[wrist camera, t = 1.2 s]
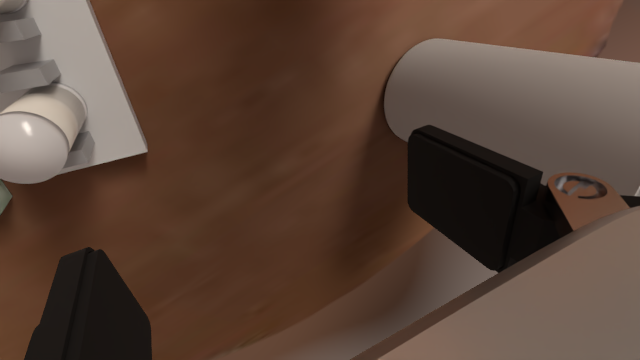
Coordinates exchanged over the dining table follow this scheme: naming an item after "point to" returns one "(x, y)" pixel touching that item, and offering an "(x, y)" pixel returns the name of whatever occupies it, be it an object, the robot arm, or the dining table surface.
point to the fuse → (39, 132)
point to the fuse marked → (11, 6)
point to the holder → (70, 75)
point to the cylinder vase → (525, 106)
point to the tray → (4, 196)
